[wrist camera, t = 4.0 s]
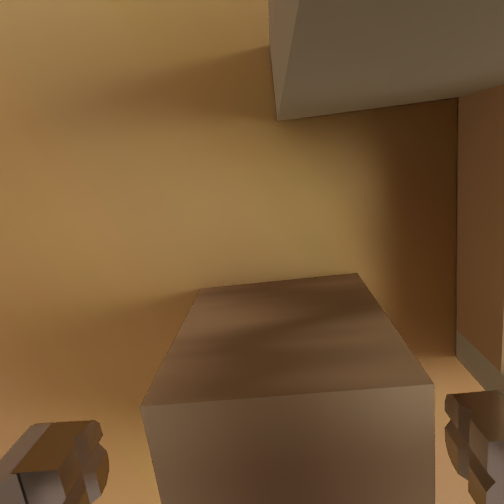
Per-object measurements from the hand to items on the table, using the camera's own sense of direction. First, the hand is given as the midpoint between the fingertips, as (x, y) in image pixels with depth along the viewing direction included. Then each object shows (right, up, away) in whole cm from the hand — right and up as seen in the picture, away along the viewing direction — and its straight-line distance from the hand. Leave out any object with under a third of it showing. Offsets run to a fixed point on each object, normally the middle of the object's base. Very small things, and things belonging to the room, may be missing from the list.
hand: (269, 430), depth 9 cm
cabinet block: (+1, +1, +4) cm, 4 cm away
